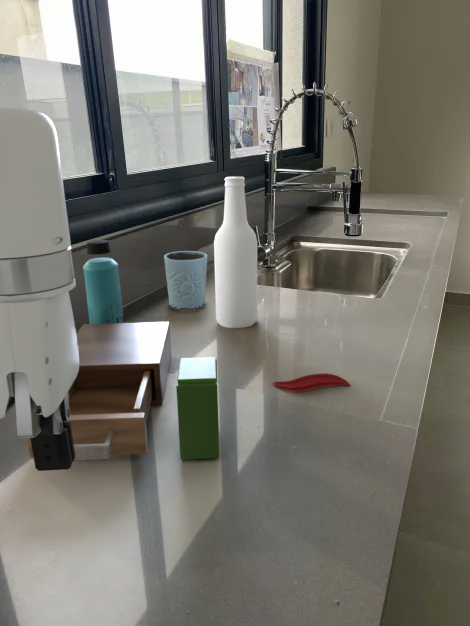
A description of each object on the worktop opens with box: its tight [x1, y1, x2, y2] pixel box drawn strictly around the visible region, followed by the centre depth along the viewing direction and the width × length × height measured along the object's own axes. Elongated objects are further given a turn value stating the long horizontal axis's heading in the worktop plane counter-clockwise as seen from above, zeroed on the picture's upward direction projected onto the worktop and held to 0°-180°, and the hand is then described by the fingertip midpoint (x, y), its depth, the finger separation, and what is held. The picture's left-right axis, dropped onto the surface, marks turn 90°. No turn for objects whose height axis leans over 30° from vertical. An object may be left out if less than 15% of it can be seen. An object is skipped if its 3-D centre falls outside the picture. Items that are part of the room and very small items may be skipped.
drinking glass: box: [163, 250, 208, 310], centre depth 117 cm, size 10×10×12 cm
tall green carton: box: [175, 356, 220, 460], centre depth 61 cm, size 5×8×10 cm, turn 3°
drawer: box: [26, 369, 154, 461], centre depth 63 cm, size 21×14×5 cm, turn 3°
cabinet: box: [76, 321, 172, 408], centre depth 79 cm, size 18×15×7 cm
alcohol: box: [213, 176, 258, 329], centre depth 101 cm, size 9×9×30 cm
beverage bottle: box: [82, 239, 126, 324], centre depth 92 cm, size 6×7×20 cm
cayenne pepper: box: [272, 372, 351, 393], centre depth 77 cm, size 12×5×2 cm, turn 81°
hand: (56, 464), depth 46 cm, fingers closed
